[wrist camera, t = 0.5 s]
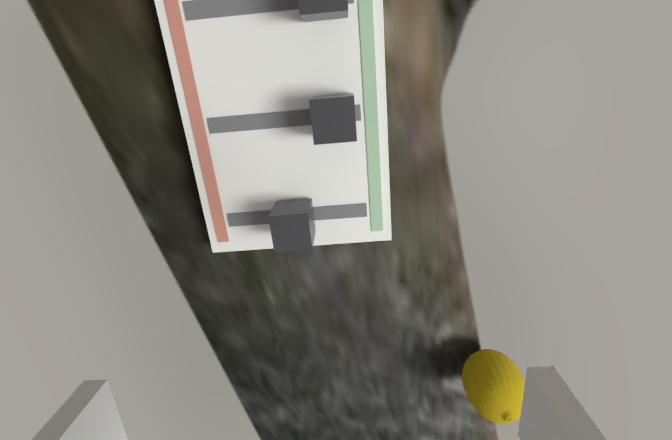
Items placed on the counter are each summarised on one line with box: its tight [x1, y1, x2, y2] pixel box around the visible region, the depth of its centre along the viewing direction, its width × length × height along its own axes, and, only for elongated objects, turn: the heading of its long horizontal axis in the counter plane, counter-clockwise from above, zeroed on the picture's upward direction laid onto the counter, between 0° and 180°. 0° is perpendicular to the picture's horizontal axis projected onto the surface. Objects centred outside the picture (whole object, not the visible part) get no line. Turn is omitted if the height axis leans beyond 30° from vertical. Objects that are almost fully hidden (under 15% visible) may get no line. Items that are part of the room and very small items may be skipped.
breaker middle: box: [309, 93, 357, 145], centre depth 27 cm, size 3×3×4 cm
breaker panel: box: [154, 0, 392, 252], centre depth 30 cm, size 22×16×2 cm
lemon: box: [462, 349, 525, 424], centre depth 36 cm, size 6×6×8 cm
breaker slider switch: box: [268, 198, 316, 252], centre depth 30 cm, size 3×3×4 cm
